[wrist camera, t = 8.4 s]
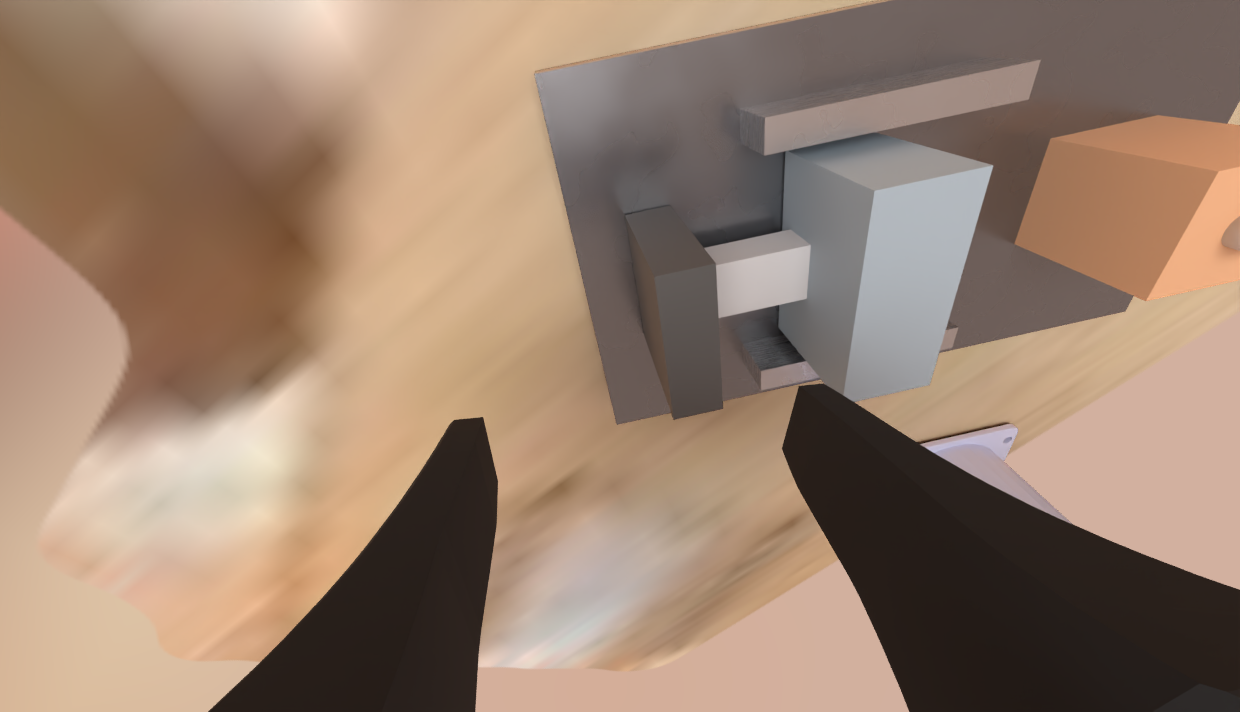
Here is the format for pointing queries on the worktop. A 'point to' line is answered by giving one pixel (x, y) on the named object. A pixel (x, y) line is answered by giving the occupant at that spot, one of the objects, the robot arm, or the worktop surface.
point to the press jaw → (819, 270)
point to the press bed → (856, 105)
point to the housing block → (1141, 205)
